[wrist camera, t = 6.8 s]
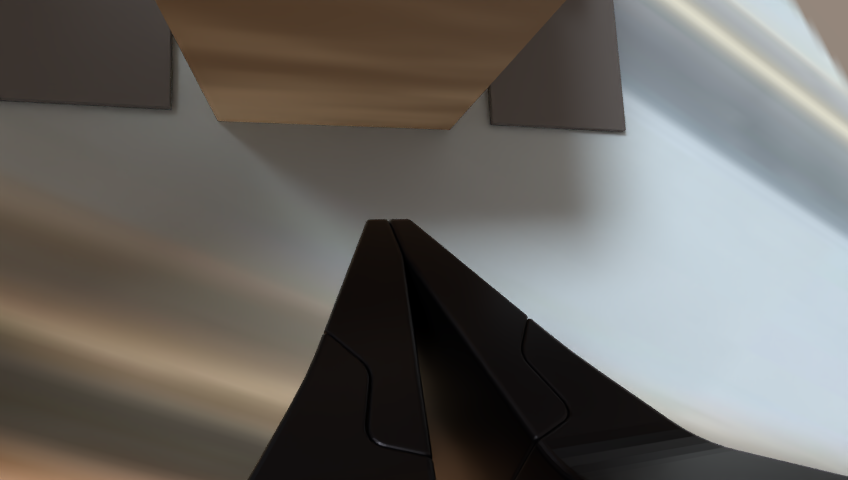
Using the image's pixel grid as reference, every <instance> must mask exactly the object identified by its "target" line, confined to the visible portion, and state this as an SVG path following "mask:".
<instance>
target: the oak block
mask: <svg viewBox="0 0 848 480" xmlns="http://www.w3.org/2000/svg"><path fill="white" fill-rule="evenodd" d="M155 1H156V3H157V5H158V7H159V9H160V11H161V13H162V15H163V17H164V19H165V21H166V23H167V24H168V26H169V28H170V30H171V32H172V34H173V36H174V38H175V40H176V42H177V44H178V46H179V47H180V49H181V51H182V53H183V55H184V57H185V59H186V61H187V63H188V65H189V67H190V69H191V70H192V72H193V74H194V76H195V78H196V80H197V82H198V84H199V86H200V88H201V90H202V92H203V93H204V95H205V97H206V99H207V101H208V103H209V105H210V107H211V109H212V111H213V113H214V115H215V116H216V118H217V120H218V121H228V122H254V123H281V124H308V125H334V126H361V127H388V128H414V129H441V130H450V129H451V128H452V127H453V126H454V125H455V123H456V122H457V121H458V120H459V119H460V118H461V117H462V116H463V115H464V113H465V112H466V111H467V110H468V109H469V108H470V107H471V106H472V105H473V103H474V102H475V101H476V100H477V99H478V98H479V97H480V96H481V95H482V93H483V92H484V91H485V90H486V89H487V88H488V87H489V86H490V85H491V83H492V82H493V81H494V80H495V79H496V78H497V77H498V76H499V74H500V73H501V72H502V71H503V70H504V69H505V68H506V67H507V66H508V64H509V63H510V62H511V61H512V60H513V59H514V58H515V57H516V56H517V54H518V53H519V52H520V51H521V50H522V49H523V48H524V47H525V46H526V44H527V43H528V42H529V41H530V40H531V39H532V38H533V37H534V35H535V34H536V33H537V32H538V31H539V30H540V29H541V28H542V27H543V25H544V24H545V23H546V22H547V21H548V20H549V19H550V18H551V17H552V15H553V14H554V13H555V12H556V11H557V10H558V9H559V8H560V7H561V5H562V4H563V3H564V2H565V1H566V0H155Z"/></svg>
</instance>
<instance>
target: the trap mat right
mask: <svg viewBox="0 0 848 480" xmlns="http://www.w3.org/2000/svg"><path fill="white" fill-rule="evenodd" d="M488 88H489V103H490V118H491V125H507V126H526V127H544V128H562V129H581V130H599V131H618V132H623V131H625V130H626V127H625V117H624V107H623V97H622V87H621V76H620V66H619V56H618V46H617V36H616V25H615V15H614V5H613V0H566V1H565V2H564V3H563V4H562V5H561V7H560V8H559V9H558V10H557V11H556V12H555V13H554V14H553V15H552V17H551V18H550V19H549V20H548V21H547V22H546V23H545V24H544V25H543V27H542V28H541V29H540V30H539V31H538V32H537V33H536V34H535V35H534V37H533V38H532V39H531V40H530V41H529V42H528V43H527V44H526V46H525V47H524V48H523V49H522V50H521V51H520V52H519V53H518V54H517V56H516V57H515V58H514V59H513V60H512V61H511V62H510V63H509V64H508V66H507V67H506V68H505V69H504V70H503V71H502V72H501V73H500V74H499V76H498V77H497V78H496V79H495V80H494V81H493V82H492V83H491V85H490V86H489V87H488Z"/></svg>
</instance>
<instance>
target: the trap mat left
mask: <svg viewBox="0 0 848 480" xmlns="http://www.w3.org/2000/svg"><path fill="white" fill-rule="evenodd" d="M171 70H172V32H171V30H170V28H169V26H168V24H167V23H166V21H165V19H164V17H163V15H162V13H161V11H160V9H159V7H158V5H157V3H156V1H155V0H0V100H4V101H23V102H42V103H60V104H79V105H98V106H117V107H136V108H155V109H171Z"/></svg>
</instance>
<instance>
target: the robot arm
mask: <svg viewBox="0 0 848 480" xmlns="http://www.w3.org/2000/svg"><path fill="white" fill-rule="evenodd" d="M527 319H528V317H527V315H526V314H524V313H523V312H522V311H521V310H520V309H518V308H517V307H516V306H515V305H513V304H512V303H511V302H510V301H509V300H507V299H506V298H505V297H504V296H503V295H501V294H500V293H499V292H498V291H496V290H495V289H494V288H493V287H492V286H490V285H489V284H488V283H487V282H486V281H484V280H483V279H482V278H481V277H479V276H478V275H477V274H476V273H475V272H473V271H472V270H471V269H470V268H468V267H467V266H466V265H465V264H464V263H462V262H461V261H460V260H459V259H458V258H456V257H455V256H454V255H453V254H451V253H450V252H449V251H448V250H447V249H445V248H444V247H443V246H442V245H440V244H439V243H438V242H437V241H436V240H434V239H433V238H432V237H431V236H430V235H428V234H427V233H426V232H425V231H423V230H422V229H421V228H420V227H419V226H417V225H416V224H415V223H414V222H412V221H411V220H409V219H392V220H390V221H388V220H385V219H370V220H367V222H366V224H365V226H364V229H363V231H362V234H361V237H360V239H359V242H358V244H357V247H356V250H355V252H354V255H353V257H352V260H351V263H350V265H349V268H348V270H347V273H346V276H345V278H344V281H343V283H342V286H341V289H340V291H339V294H338V297H337V299H336V302H335V304H334V307H333V310H332V312H331V315H330V317H329V320H328V323H327V325H326V328H325V330H324V334H323V335H322V337H321V340H320V343H319V345H318V348H317V350H316V353H315V355H314V357H313V360H312V362H311V364H310V367H309V369H308V371H307V373H306V376H305V378H304V380H303V382H302V384H301V386H300V388H299V389H298V391H297V393H296V395H295V397H294V399H293V401H292V403H291V405H290V407H289V408H288V410H287V412H286V414H285V415H284V417H283V419H282V421H281V422H280V424H279V426H278V427H277V429H276V431H275V433H274V434H273V436H272V438H271V440H270V441H269V443H268V445H267V447H266V448H265V450H264V452H263V454H262V455H261V457H260V459H259V460H258V462H257V464H256V466H255V467H254V469H253V471H252V473H251V474H250V476H249V478H248V480H848V476H844V475H840V474H835V473H831V472H827V471H823V470H819V469H814V468H810V467H806V466H802V465H798V464H793V463H789V462H785V461H781V460H777V459H772V458H768V457H764V456H760V455H756V454H751V453H747V452H743V451H739V450H735V449H731V448H727V447H724V446H721V445H718V444H716V443H713V442H710V441H708V440H705V439H703V438H701V437H699V436H696V435H695V434H693V433H691V432H689V431H687V430H685V429H684V428H682V427H680V426H679V425H677V424H676V423H674V422H673V421H671V420H669V419H668V418H667V417H665V416H664V415H662V414H661V413H659V412H658V411H656V410H655V409H654V408H652V407H651V406H649V405H648V404H646V403H645V402H643V401H642V400H641V399H639V398H638V397H636V396H635V395H633V394H632V393H630V392H629V391H627V390H626V389H625V388H623V387H622V386H620V385H619V384H617V383H616V382H614V381H613V380H612V379H610V378H609V377H607V376H606V375H604V374H603V373H601V372H600V371H599V370H597V369H596V368H594V367H593V366H592V365H590V364H589V363H588V362H586V361H585V360H583V359H582V358H581V357H579V356H578V355H576V354H575V353H574V352H572V351H571V350H570V349H568V348H567V347H566V346H564V345H563V344H562V343H561V342H559V341H558V340H557V339H556V338H554V337H553V336H552V335H550V334H549V333H548V332H547V331H545V330H544V329H543V328H542V327H541V326H539V325H538V324H537V323H536V322H534V321H533V320H532V319H528V320H527Z"/></svg>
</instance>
